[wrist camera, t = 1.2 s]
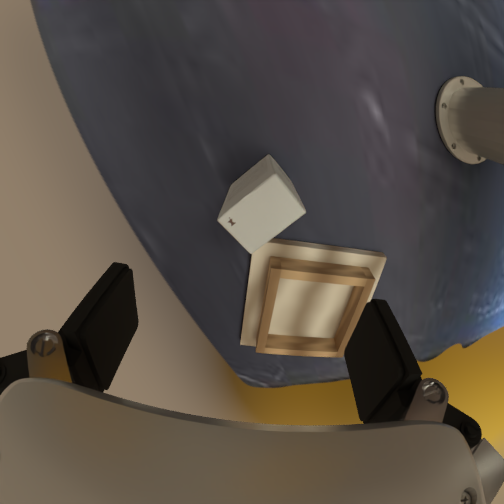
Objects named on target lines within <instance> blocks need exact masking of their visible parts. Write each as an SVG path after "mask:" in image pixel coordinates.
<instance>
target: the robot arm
mask: <svg viewBox="0 0 504 504" xmlns="http://www.w3.org/2000/svg"><path fill="white" fill-rule="evenodd" d="M436 121H437V126H438V130H439V133H440V136H441V139H442V141H443V143H444V144H445V146H446V148H447V149H448V150H449V152H450V153H451V154H452V155H453V156H454V157H455V158H457V159H459V160H460V161H462V162H465V163H468V164H478V163H481V162H483V161H484V160H486V159H489V160H492V161H495V162H497V163H500V164H503V165H504V88H490V87H483V86H482V85H481V84H479V83H478V82H477V81H476V80H474V79H472V78H469V77H465V76H459V77H453V78H451V79H449V80H447V81H446V82H445V83H444V84H443V86H442V88H441V89H440V91H439V94H438V97H437V102H436ZM137 327H138V315H137V307H136V299H135V290H134V281H133V271H132V269H129V266H128V265H127V264H122V263H117V262H114V263H113V264H112V265H111V266H110V267H109V268H108V269H107V271H106V272H105V273H104V274H103V275H102V276H101V278H100V279H99V280H98V281H97V283H96V284H95V285H94V286H93V288H92V289H91V290H90V291H89V292H88V294H87V295H86V296H85V297H84V299H83V300H82V301H81V302H80V304H79V305H78V306H77V308H76V309H75V310H74V312H73V313H72V314H71V315H70V317H69V318H68V320H67V321H66V322H65V323H64V325H63V326H62V328H61V329H60V330H59V332H58V333H57V332H55V331H53V330H48V329H47V330H41V331H38V332H37V333H35V334H33V335H32V336H31V338H30V339H29V341H28V343H27V350H25V351H21V352H18V353H15V354H11V355H8V356H5V357H2V358H0V504H491V502H492V501H493V499H494V497H495V496H496V494H497V492H498V491H499V489H500V487H501V486H502V483H503V482H504V459H503V458H502V456H501V455H500V454H499V453H498V452H497V451H496V450H495V449H494V448H493V446H492V445H491V444H490V443H489V442H488V441H487V440H486V439H485V438H483V439H482V440H481V435H482V434H481V428H480V426H479V424H478V423H477V422H476V421H475V420H474V419H472V418H471V417H469V416H468V415H466V414H464V413H463V412H461V411H460V410H458V409H456V408H455V407H453V406H452V405H450V404H449V403H448V397H449V396H448V392H447V390H446V388H445V386H444V385H443V384H442V383H441V382H439V381H438V380H436V379H433V378H426V379H423V380H422V379H421V375H422V372H421V370H420V368H419V365H418V363H417V361H416V359H415V357H414V354H413V352H412V350H411V348H410V346H409V344H408V342H407V340H406V338H405V336H404V334H403V332H402V330H401V328H400V326H399V324H398V322H397V320H396V318H395V316H394V315H393V313H392V311H391V309H390V307H389V305H388V303H387V302H386V300H380V299H372V300H371V301H370V302H367V303H366V305H365V307H364V309H363V312H362V314H361V316H360V318H359V320H358V322H357V325H356V327H355V329H354V331H353V333H352V335H351V337H350V339H349V341H348V343H347V345H346V347H345V351H344V357H345V360H346V364H347V368H348V372H349V376H350V380H351V384H352V388H353V392H354V397H355V401H356V405H357V410H358V414H359V418H360V420H361V421H363V423H364V424H354V425H333V426H332V425H330V426H298V425H273V424H259V423H248V422H238V421H230V420H222V419H215V418H209V417H202V416H196V415H191V414H185V413H180V412H175V411H170V410H166V409H161V408H157V407H153V406H148V405H145V404H141V403H137V402H133V401H130V400H126V399H122V398H119V397H116V396H112V395H109V394H106V393H103V391H104V390H108V389H109V386H110V385H111V382H112V380H113V378H114V376H115V373H116V371H117V369H118V367H119V365H120V363H121V361H122V358H123V356H124V354H125V352H126V350H127V348H128V346H129V344H130V342H131V340H132V337H133V336H134V334H135V332H136V330H137Z"/></svg>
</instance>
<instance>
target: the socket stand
mask: <svg viewBox="0 0 504 504" xmlns="http://www.w3.org/2000/svg"><path fill="white" fill-rule="evenodd" d="M386 259H387V257H386V256H385V255H384V253H382V252H375V251H367V250H360V249H353V248H346V247H338V246H331V245H323V244H316V243H308V242H300V241H292V240H284V239H276V238H272V239H271V240H270V241H268V242H267V243H266V244H264V245H263V246H262V247H260V248H259V249H258V250H256V251H255V252H254V253H252V257H251V265H250V272H249V280H248V287H247V295H246V303H245V310H244V318H243V325H242V333H241V341H240V345H249V346H256V352H257V353H268V354H280V355H295V356H315V357H343V355H344V351H345V347H346V345H347V343H348V341H349V339H350V337H351V335H352V333H353V331H354V329H355V327H356V325H357V322H358V320H359V318H360V316H361V314H362V312H363V309H364V307H365V305H366V303H367V302H370V301H371V298H372V296H373V293H374V291H375V288H376V286H377V283H378V281H379V278H380V275H381V273H382V270H383V267H384V264H385V261H386Z"/></svg>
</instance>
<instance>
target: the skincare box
mask: <svg viewBox="0 0 504 504" xmlns="http://www.w3.org/2000/svg"><path fill="white" fill-rule="evenodd" d="M305 213H306V210H305V208H304V206H303V204H302V202H301V200H300V198H299V196H298V194H297V192H296V190H295V188H294V186H293V184H292V182H291V180H290V179H289V177H288V176H287V175H286V174H285V172H284V171H283V170H282V169H281V167H280V166H279V165H278V164H277V163H276V161H275V160H274V159H273V158H272V157H271V155H269V154H268V155H267V156H265V157H264V158H263V159H262V160H260V161H259V162H258V163H257V164H256V165H254V166H253V167H252V168H251V169H249V170H248V171H247V172H246V173H245V174H243V175H242V176H241V177H240V178H239V179H237V180H236V181H235V182H234V183H233V184H231V186H230V188H229V191H228V193H227V196H226V199H225V201H224V204H223V206H222V209H221V211H220V214H219V217H218V219H217V221H218V222H219V223H220V224H221V225H222V226H223V227H224V228H225V229H226V230H227V231H228V232H229V233H230V234H231V235H232V236H233V237H234V238H235V239H236V240H237V241H238V242H239V243H240V244H241V245H242V246H243V247H244V248H245V249H246V250H247V251H248V252H249V253H250V254H252V253H254V252H255V251H256V250H258V249H259V248H260V247H262V246H263V245H264V244H266V243H267V242H268V241H270V240H271V239H272V238H274V237H275V236H276V235H277V234H279V233H280V232H281V231H283V230H284V229H285V228H286V227H288V226H289V225H290V224H292V223H293V222H294V221H296V220H297V219H298V218H300V217H301V216H302V215H304V214H305Z"/></svg>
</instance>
